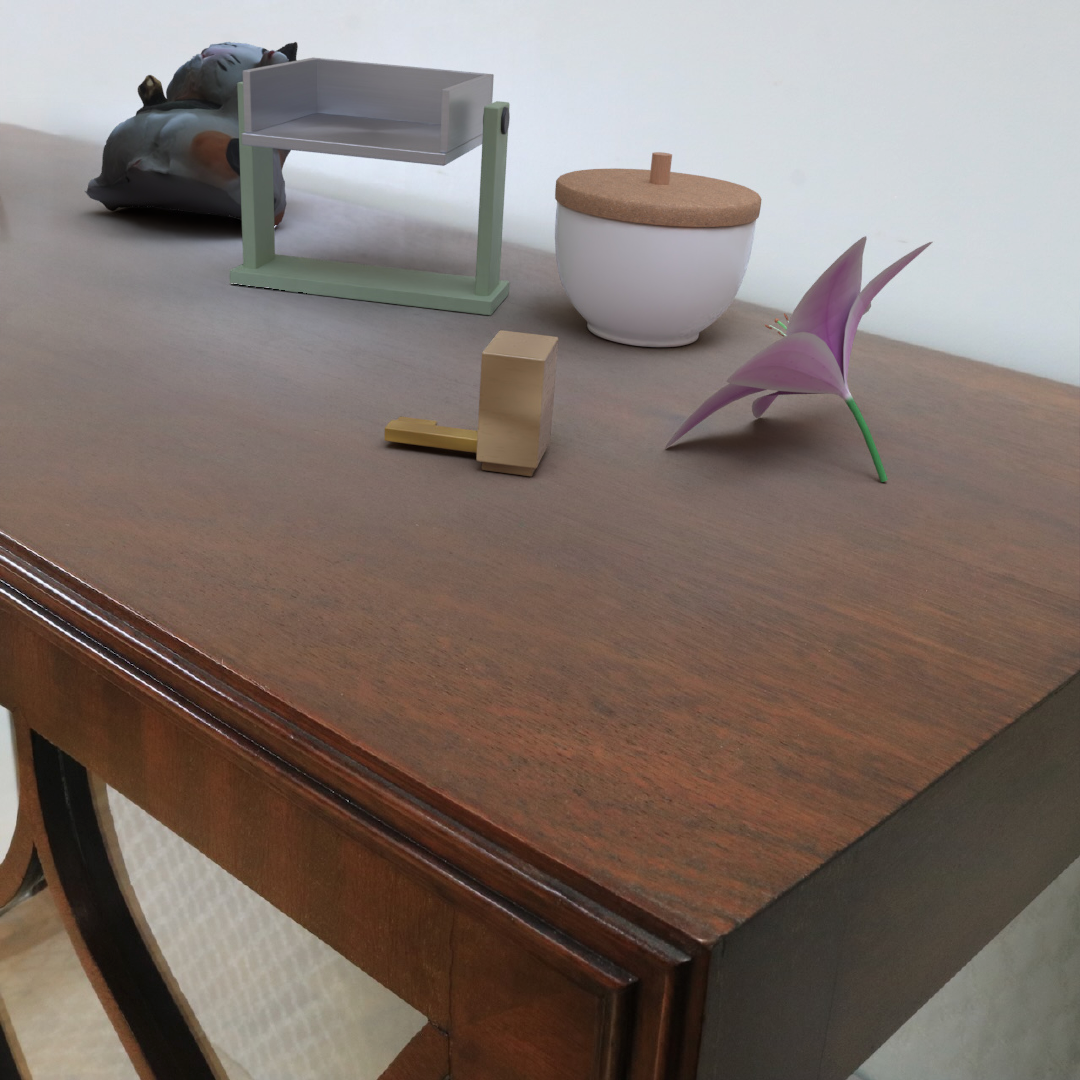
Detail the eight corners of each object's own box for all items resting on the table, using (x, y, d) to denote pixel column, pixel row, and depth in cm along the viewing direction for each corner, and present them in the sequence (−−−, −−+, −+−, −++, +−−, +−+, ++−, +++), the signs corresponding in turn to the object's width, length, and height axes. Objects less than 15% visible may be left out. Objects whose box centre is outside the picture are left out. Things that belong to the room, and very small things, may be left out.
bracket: (262, 265, 74) (258, 75, 70) (508, 294, 72) (520, 101, 68) (229, 284, 70) (222, 83, 65) (490, 315, 68) (502, 110, 63)
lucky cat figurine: (68, 201, 86) (123, 13, 87) (229, 264, 93) (280, 88, 93) (120, 174, 74) (185, -46, 74) (303, 249, 80) (361, 46, 81)
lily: (883, 433, 58) (815, 240, 56) (1069, 421, 47) (991, 180, 45) (673, 538, 55) (593, 335, 53) (821, 552, 44) (726, 296, 42)
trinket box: (684, 302, 74) (705, 139, 70) (778, 356, 65) (807, 173, 61) (517, 307, 70) (528, 135, 66) (591, 365, 61) (610, 170, 57)
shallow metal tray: (356, 107, 81) (357, 49, 79) (518, 123, 79) (521, 64, 78) (241, 145, 64) (239, 71, 62) (444, 166, 62) (447, 90, 61)
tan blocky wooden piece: (550, 450, 50) (558, 336, 48) (535, 479, 47) (544, 359, 45) (398, 430, 51) (400, 317, 49) (375, 458, 48) (377, 339, 46)
